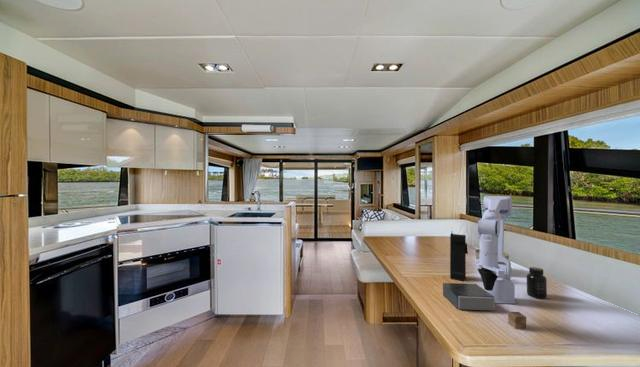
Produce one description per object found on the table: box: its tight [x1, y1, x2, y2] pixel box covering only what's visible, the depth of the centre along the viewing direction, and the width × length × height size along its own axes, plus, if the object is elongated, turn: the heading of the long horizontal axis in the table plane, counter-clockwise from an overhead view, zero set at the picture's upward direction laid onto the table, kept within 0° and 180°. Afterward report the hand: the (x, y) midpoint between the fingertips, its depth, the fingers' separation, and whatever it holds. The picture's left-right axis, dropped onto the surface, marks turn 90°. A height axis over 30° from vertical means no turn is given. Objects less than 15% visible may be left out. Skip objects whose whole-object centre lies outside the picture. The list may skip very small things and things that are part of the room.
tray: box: [458, 296, 495, 311], centre depth 107 cm, size 13×13×5 cm
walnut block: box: [507, 311, 527, 330], centre depth 90 cm, size 4×4×4 cm
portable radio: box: [449, 232, 469, 282], centre depth 137 cm, size 8×6×25 cm
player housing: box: [442, 282, 494, 310], centre depth 109 cm, size 14×13×5 cm
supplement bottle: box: [526, 266, 548, 300], centre depth 115 cm, size 7×7×12 cm
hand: (488, 289), depth 95 cm, fingers closed
